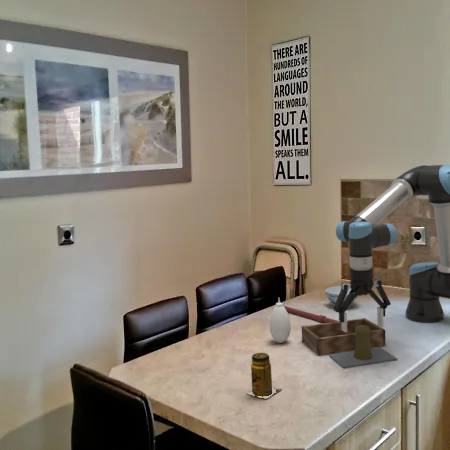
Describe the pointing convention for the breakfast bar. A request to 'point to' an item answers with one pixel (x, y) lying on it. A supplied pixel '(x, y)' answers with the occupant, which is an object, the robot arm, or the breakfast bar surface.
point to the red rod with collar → (310, 315)
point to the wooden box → (339, 336)
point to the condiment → (261, 375)
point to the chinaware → (336, 294)
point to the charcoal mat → (350, 361)
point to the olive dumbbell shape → (362, 343)
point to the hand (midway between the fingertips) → (362, 328)
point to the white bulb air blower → (280, 323)
